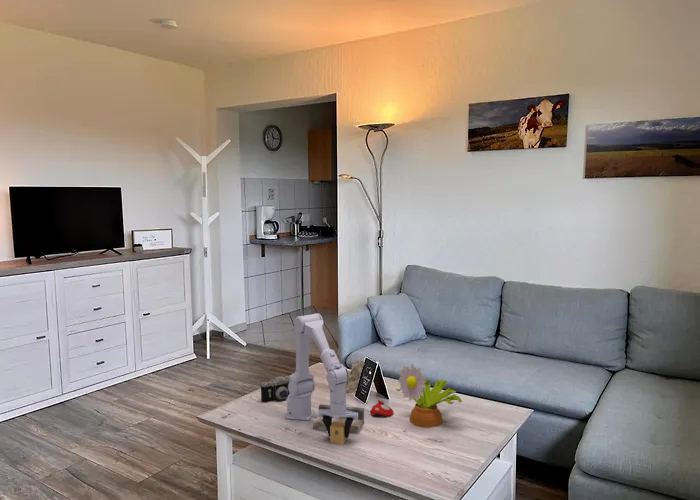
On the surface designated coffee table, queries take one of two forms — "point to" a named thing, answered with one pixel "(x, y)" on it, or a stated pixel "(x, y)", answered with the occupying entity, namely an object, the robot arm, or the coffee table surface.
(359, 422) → the board
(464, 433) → the coffee table surface
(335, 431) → the cabinet block
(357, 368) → the rough stone chunk
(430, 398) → the decorative plant
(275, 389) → the camera
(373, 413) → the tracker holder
